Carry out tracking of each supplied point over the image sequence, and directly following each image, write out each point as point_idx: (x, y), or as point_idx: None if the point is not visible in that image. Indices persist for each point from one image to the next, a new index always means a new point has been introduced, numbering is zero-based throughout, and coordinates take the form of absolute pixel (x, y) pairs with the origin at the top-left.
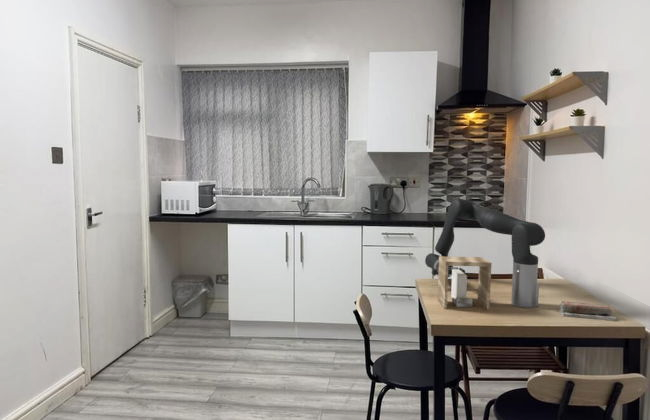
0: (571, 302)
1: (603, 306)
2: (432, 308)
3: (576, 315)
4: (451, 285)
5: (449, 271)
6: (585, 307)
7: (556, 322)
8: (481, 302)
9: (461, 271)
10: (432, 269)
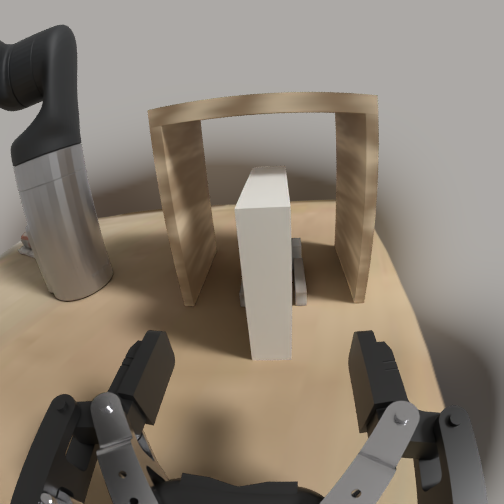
0: None
1: None
2: (374, 246)
3: None
4: (291, 310)
5: (224, 487)
6: None
7: (133, 220)
8: (203, 271)
9: (246, 187)
10: (479, 477)
